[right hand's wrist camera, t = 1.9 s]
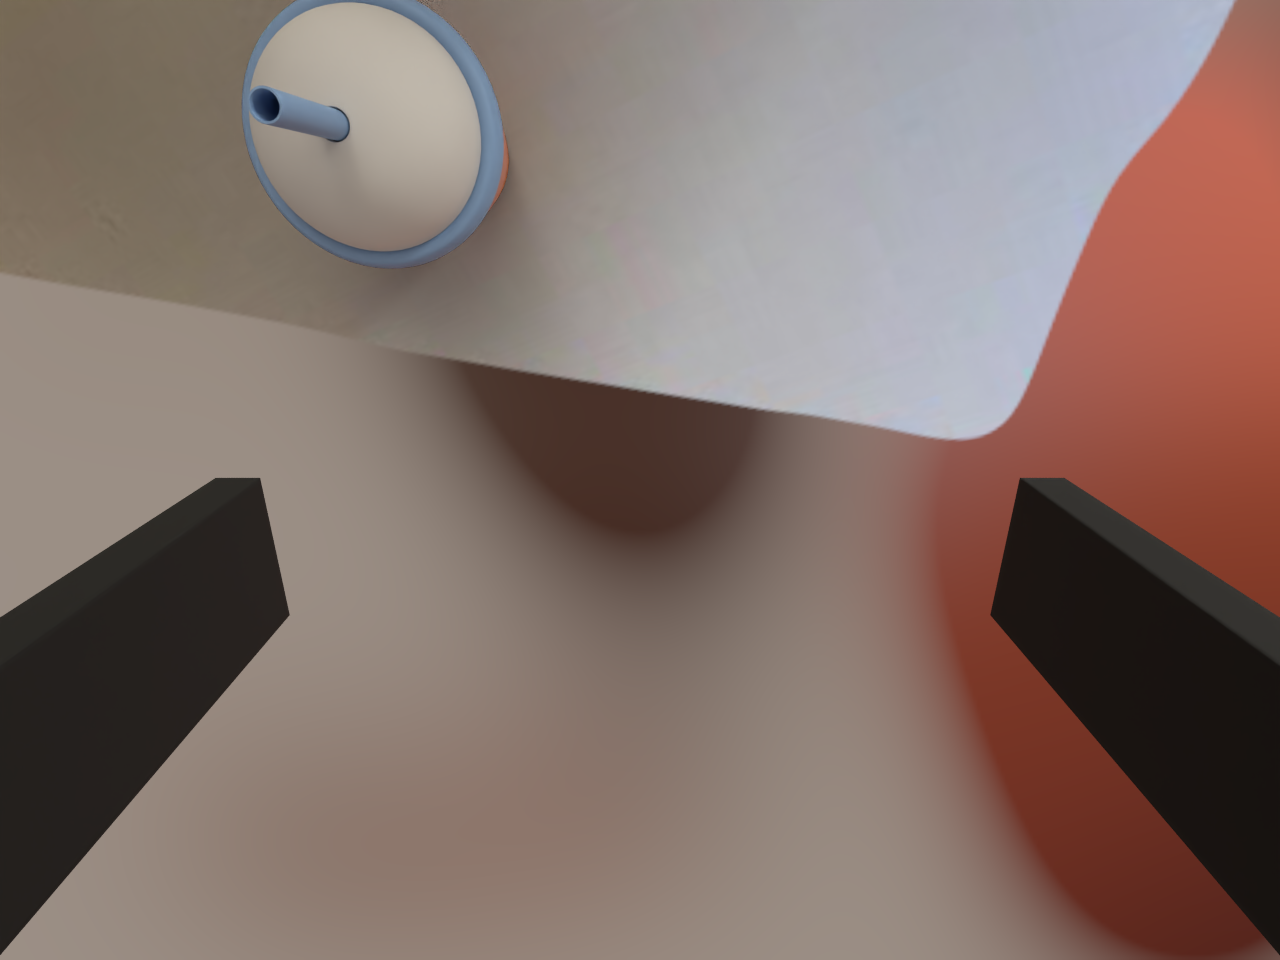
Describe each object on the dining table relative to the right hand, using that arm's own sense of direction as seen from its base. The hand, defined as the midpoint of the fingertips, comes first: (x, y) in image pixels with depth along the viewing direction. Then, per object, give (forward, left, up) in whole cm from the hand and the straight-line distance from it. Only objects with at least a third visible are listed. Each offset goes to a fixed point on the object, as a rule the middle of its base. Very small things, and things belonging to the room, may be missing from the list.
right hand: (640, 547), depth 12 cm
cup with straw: (-7, -10, -27) cm, 30 cm away
